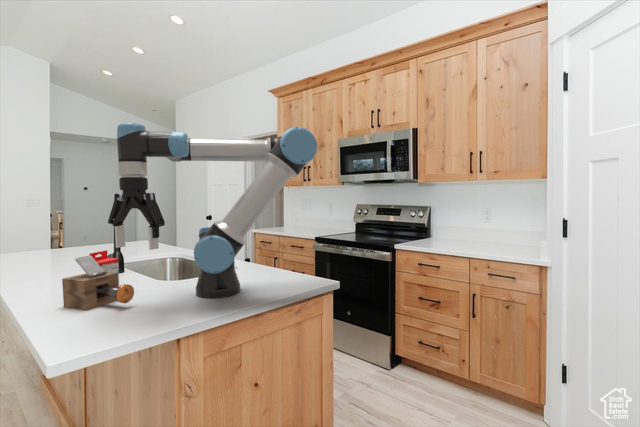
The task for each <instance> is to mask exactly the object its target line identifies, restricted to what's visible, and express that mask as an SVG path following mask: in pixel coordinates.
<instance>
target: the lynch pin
mask: <svg viewBox="0 0 640 427" xmlns="http://www.w3.org/2000/svg"><path fill="white" fill-rule="evenodd" d="M96 292H97V294H98V295H102V296H110V297H116V300H117V302H118V303H121V304H128V303H129V302H131V300H132V299H133V298H134V296H135V288H134V286H133V285H131V284H127V283H123V284H120V285H119V288H113V287H104V286H100V287H98V288H97V290H96Z"/></svg>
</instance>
